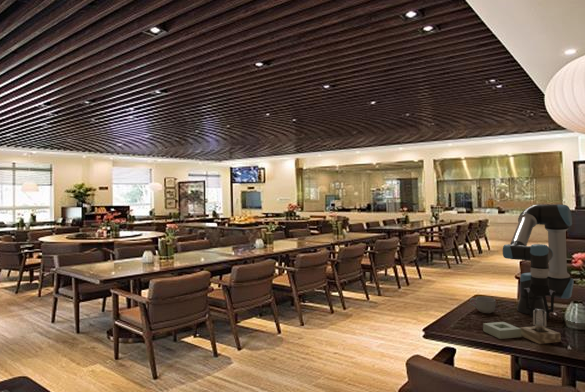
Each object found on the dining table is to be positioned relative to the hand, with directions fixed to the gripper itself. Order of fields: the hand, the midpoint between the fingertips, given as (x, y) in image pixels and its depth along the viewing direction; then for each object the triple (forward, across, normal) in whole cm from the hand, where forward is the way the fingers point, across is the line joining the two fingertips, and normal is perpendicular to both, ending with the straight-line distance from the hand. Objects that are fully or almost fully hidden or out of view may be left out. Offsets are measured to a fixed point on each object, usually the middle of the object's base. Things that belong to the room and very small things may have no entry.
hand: (539, 324), depth 202 cm
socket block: (+7, -16, -2) cm, 18 cm away
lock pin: (+5, 0, 0) cm, 5 cm away
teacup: (+7, -30, +37) cm, 49 cm away
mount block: (+7, 0, 0) cm, 7 cm away
